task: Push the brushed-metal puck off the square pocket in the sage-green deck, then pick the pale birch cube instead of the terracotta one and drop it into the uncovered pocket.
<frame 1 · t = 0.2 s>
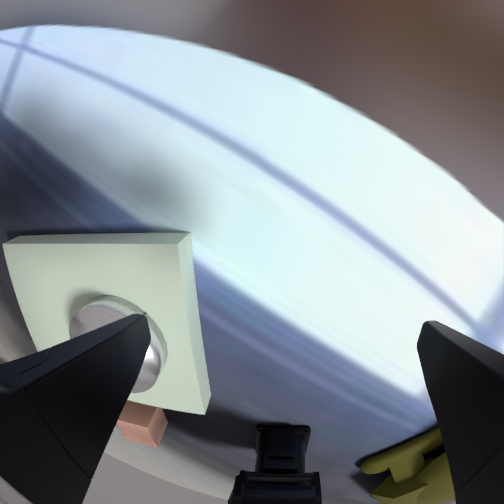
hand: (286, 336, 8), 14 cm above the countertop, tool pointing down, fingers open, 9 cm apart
metal puck: (122, 339, 23), point 3 cm above the countertop, touching pocket deck
pocket deck: (102, 317, 27), on the countertop
spaceship: (466, 443, 31), on the countertop
terracotta cube: (148, 408, 31), on the countertop
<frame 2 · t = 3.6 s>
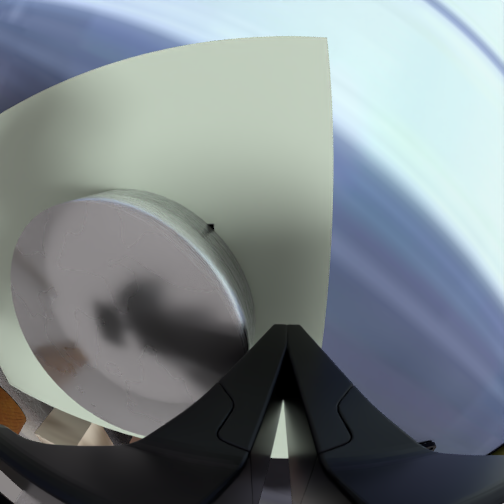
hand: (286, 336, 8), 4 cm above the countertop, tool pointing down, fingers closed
metal puck: (135, 311, 10), point 3 cm above the countertop, touching gripper, pocket deck
pocket deck: (94, 275, 13), on the countertop
disposable coffee cup: (10, 402, 22), on the countertop
birch cube: (86, 424, 19), on the countertop
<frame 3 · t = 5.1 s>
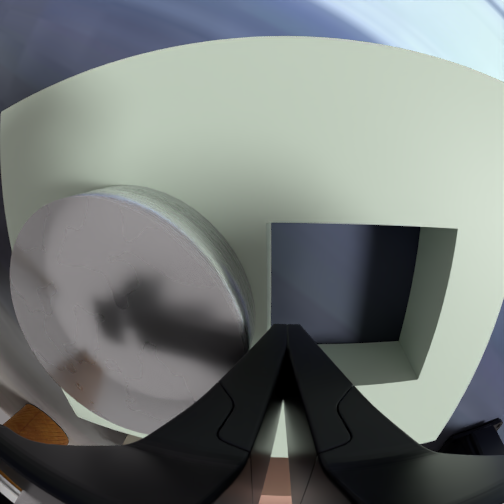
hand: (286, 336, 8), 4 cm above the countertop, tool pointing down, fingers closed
metal puck: (134, 307, 10), point 3 cm above the countertop, touching gripper, pocket deck
pocket deck: (247, 281, 12), on the countertop
disposable coffee cup: (47, 423, 21), on the countertop
terracotta cube: (281, 455, 17), on the countertop
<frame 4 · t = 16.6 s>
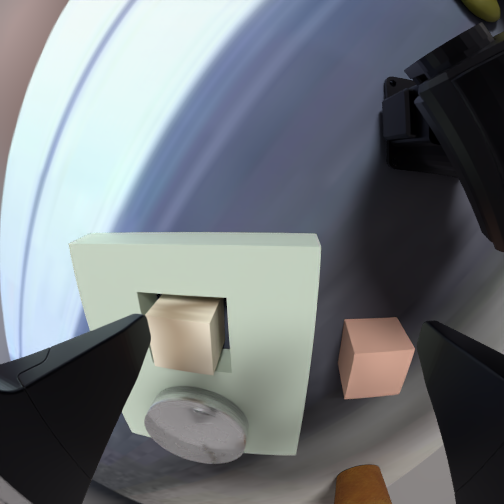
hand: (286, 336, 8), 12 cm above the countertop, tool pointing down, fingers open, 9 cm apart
metal puck: (199, 419, 23), point 3 cm above the countertop, touching pocket deck
pocket deck: (201, 355, 24), on the countertop
disposable coffee cup: (358, 473, 29), on the countertop
birch cube: (197, 314, 23), resting in pocket deck
terracotta cube: (366, 340, 22), on the countertop
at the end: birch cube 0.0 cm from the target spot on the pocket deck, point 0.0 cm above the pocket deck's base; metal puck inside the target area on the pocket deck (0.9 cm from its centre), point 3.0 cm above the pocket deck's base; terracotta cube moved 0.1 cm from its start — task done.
